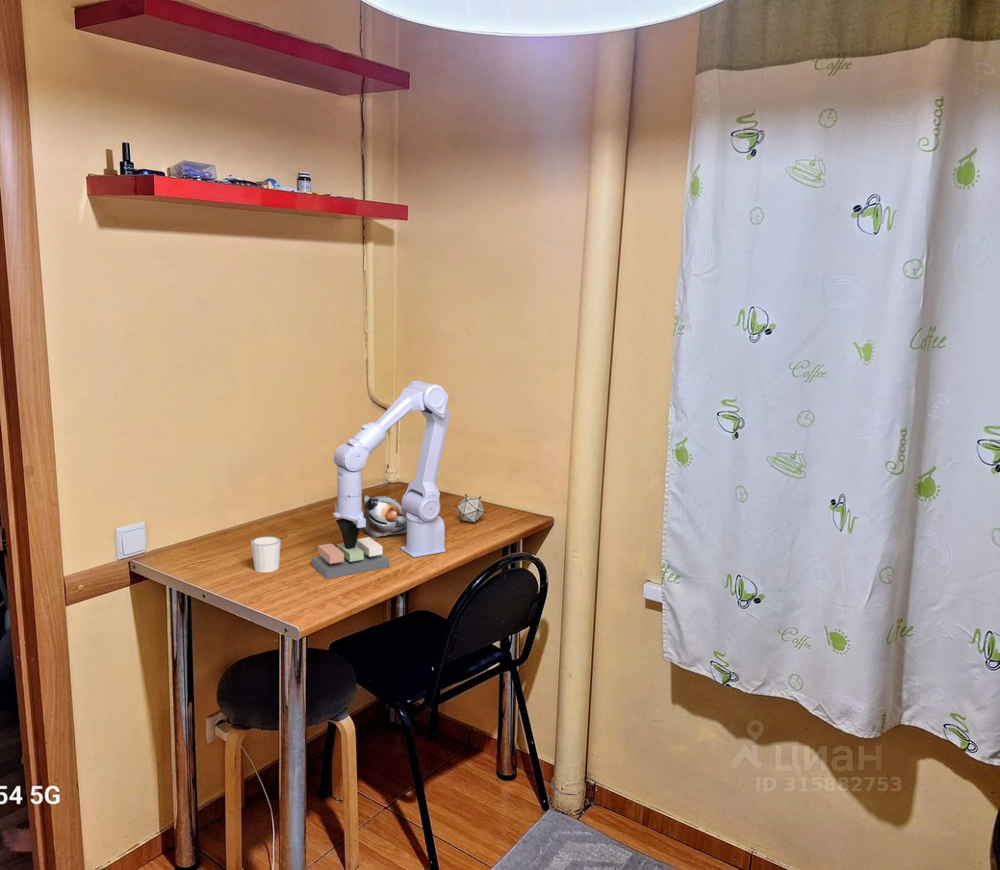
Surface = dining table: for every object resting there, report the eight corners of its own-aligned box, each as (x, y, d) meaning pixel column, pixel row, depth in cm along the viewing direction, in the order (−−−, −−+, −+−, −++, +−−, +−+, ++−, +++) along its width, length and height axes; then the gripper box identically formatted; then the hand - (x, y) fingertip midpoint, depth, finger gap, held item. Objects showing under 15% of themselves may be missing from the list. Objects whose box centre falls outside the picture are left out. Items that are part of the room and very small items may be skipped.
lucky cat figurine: (421, 529, 223) (422, 494, 214) (395, 556, 215) (395, 521, 206) (377, 507, 228) (377, 472, 219) (351, 532, 220) (350, 497, 211)
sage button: (350, 549, 198) (350, 541, 198) (363, 559, 191) (363, 551, 191) (337, 551, 196) (337, 544, 196) (349, 561, 189) (349, 553, 189)
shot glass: (264, 575, 187) (263, 547, 185) (245, 568, 191) (244, 541, 189) (287, 567, 192) (286, 539, 191) (268, 561, 196) (268, 534, 195)
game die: (464, 533, 233) (454, 501, 237) (491, 523, 233) (481, 492, 236) (458, 526, 225) (448, 494, 228) (487, 517, 225) (476, 484, 228)
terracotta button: (331, 551, 195) (331, 543, 195) (344, 561, 189) (343, 553, 188) (317, 553, 193) (317, 545, 193) (330, 563, 187) (329, 555, 186)
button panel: (372, 554, 203) (372, 547, 202) (389, 567, 194) (389, 559, 194) (311, 565, 194) (311, 557, 194) (326, 578, 186) (326, 570, 185)
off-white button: (369, 544, 201) (369, 537, 200) (382, 554, 194) (382, 546, 194) (356, 546, 199) (356, 539, 198) (369, 556, 192) (369, 548, 192)
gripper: (322, 489, 194) (323, 541, 197) (345, 503, 183) (346, 559, 185) (349, 485, 198) (350, 537, 201) (373, 500, 186) (373, 554, 189)
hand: (350, 547), depth 193 cm, fingers closed, pressing on sage button
